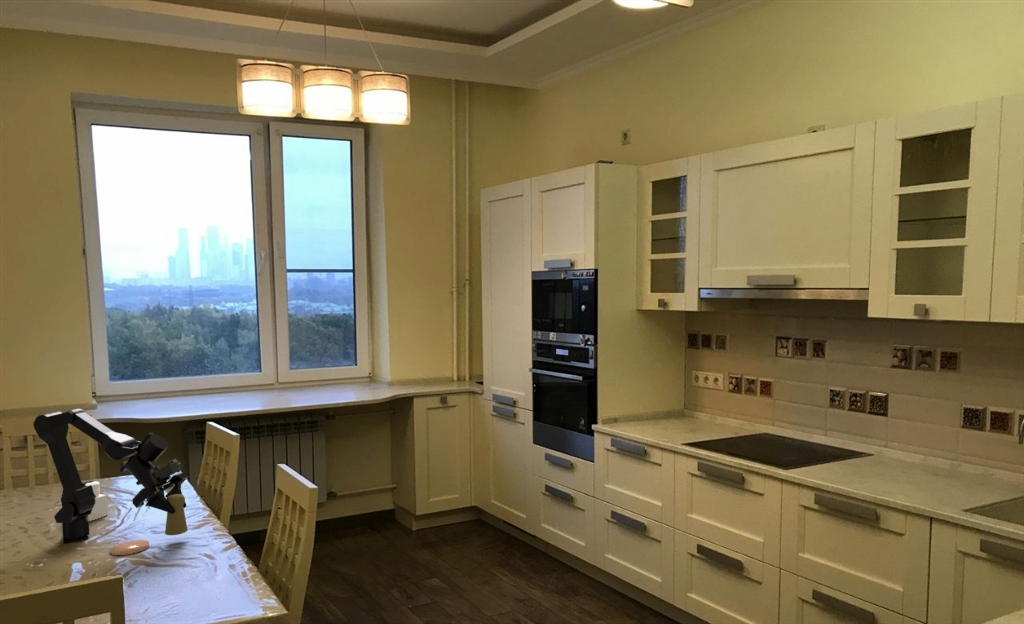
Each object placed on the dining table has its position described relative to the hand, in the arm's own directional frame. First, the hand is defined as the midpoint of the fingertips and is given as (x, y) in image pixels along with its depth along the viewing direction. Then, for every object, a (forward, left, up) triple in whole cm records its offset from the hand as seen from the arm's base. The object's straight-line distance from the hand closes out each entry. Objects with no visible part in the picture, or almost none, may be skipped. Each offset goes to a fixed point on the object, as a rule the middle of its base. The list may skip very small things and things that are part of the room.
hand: (179, 509), depth 206 cm
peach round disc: (-13, +4, -10) cm, 17 cm away
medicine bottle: (-19, +45, -10) cm, 50 cm away
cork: (-1, +1, -7) cm, 7 cm away
